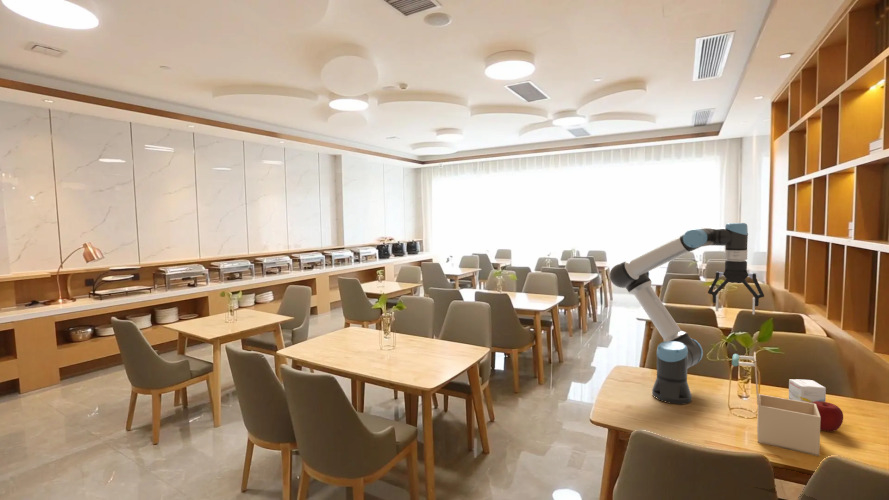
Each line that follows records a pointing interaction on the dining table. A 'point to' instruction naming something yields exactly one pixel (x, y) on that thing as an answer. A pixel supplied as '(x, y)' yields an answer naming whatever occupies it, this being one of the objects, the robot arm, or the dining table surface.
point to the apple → (829, 416)
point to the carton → (788, 424)
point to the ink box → (806, 391)
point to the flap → (736, 362)
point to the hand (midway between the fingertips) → (734, 312)
